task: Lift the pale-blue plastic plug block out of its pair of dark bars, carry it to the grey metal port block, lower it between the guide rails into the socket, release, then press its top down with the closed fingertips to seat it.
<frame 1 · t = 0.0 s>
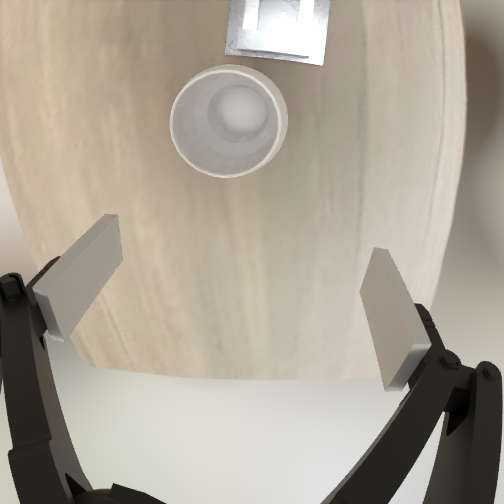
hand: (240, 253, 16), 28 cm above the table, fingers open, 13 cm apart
cup: (244, 108, 38), on the table
port: (278, 15, 31), on the table
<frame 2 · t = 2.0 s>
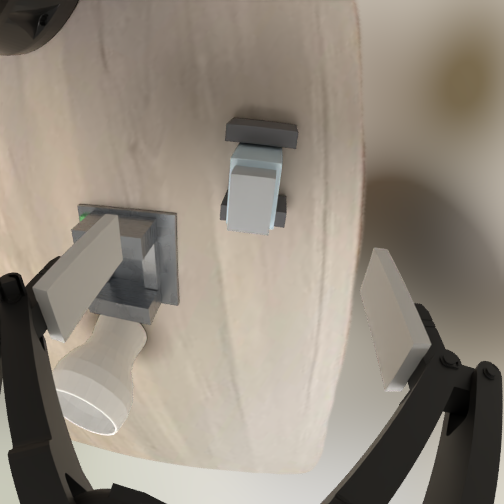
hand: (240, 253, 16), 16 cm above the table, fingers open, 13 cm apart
plug: (260, 164, 29), on the table
cup: (122, 328, 43), on the table
port: (129, 255, 36), on the table
pair of dark bars: (260, 164, 29), on the table
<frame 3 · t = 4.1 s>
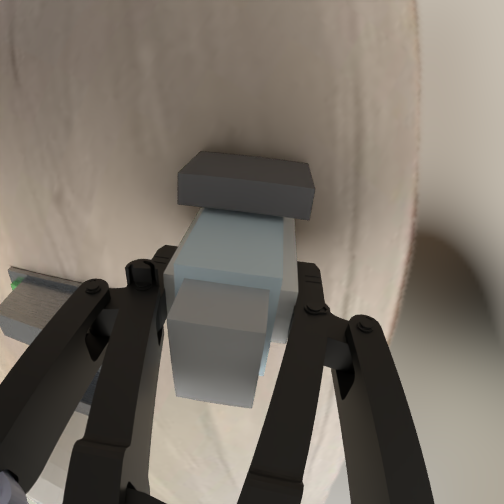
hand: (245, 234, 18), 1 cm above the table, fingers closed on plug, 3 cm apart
plug: (246, 228, 18), on the table, touching gripper
cup: (87, 401, 32), on the table
port: (77, 333, 25), on the table
pair of dark bars: (246, 229, 18), on the table
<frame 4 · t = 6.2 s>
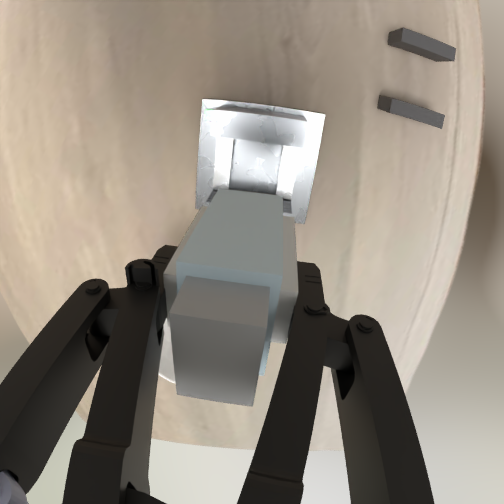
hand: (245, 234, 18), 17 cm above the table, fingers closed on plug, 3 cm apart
plug: (246, 233, 19), point 16 cm above the table, touching gripper
cup: (219, 262, 39), on the table
port: (256, 161, 32), on the table
pair of dark bars: (409, 77, 26), on the table
when the fingers open (3 cm above the table, at t = 8.6 s): plug drops 1 cm, resting on port.
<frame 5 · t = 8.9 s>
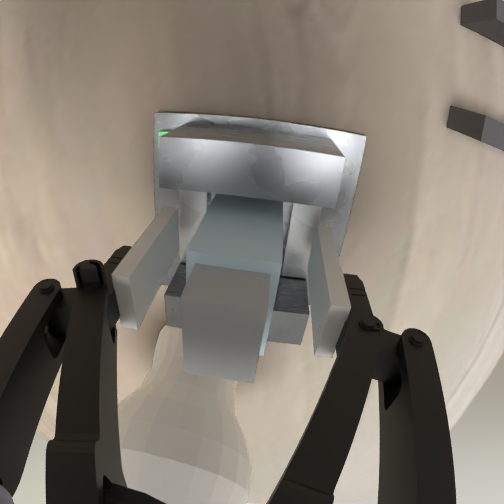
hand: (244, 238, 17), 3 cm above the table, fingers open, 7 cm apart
plug: (248, 223, 20), point 1 cm above the table, touching port
cup: (201, 348, 27), on the table
port: (249, 214, 20), on the table
pair of dark bars: (490, 79, 14), on the table
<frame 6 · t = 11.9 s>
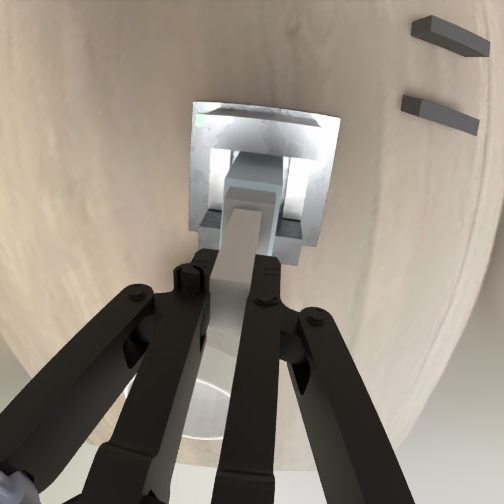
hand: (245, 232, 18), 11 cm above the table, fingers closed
plug: (258, 180, 27), resting on port
cup: (218, 289, 34), on the table
port: (259, 174, 27), on the table
pair of dark bars: (436, 74, 21), on the table
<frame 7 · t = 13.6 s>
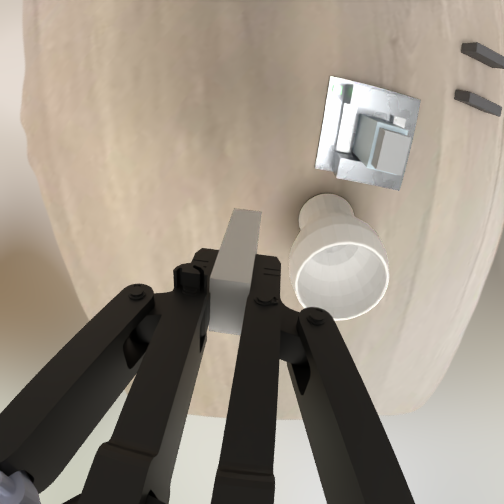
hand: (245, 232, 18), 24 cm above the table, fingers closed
plug: (368, 135, 36), resting on port
cup: (326, 219, 44), on the table
port: (368, 131, 37), on the table
pair of dark bars: (474, 77, 30), on the table
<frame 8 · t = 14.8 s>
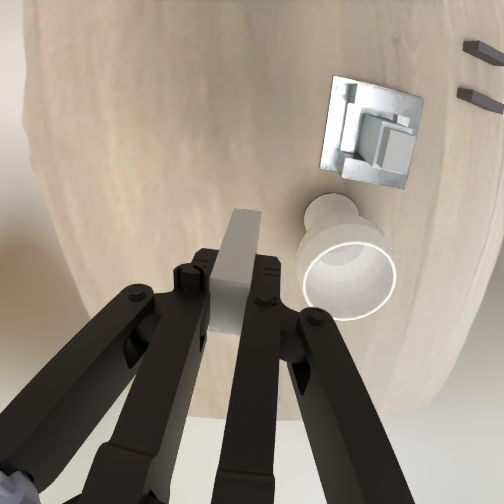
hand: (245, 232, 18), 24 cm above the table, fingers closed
plug: (372, 134, 36), resting on port
cup: (331, 219, 43), on the table
port: (372, 131, 37), on the table
pair of dark bars: (476, 76, 30), on the table
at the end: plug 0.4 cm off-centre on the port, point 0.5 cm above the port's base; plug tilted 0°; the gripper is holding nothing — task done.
